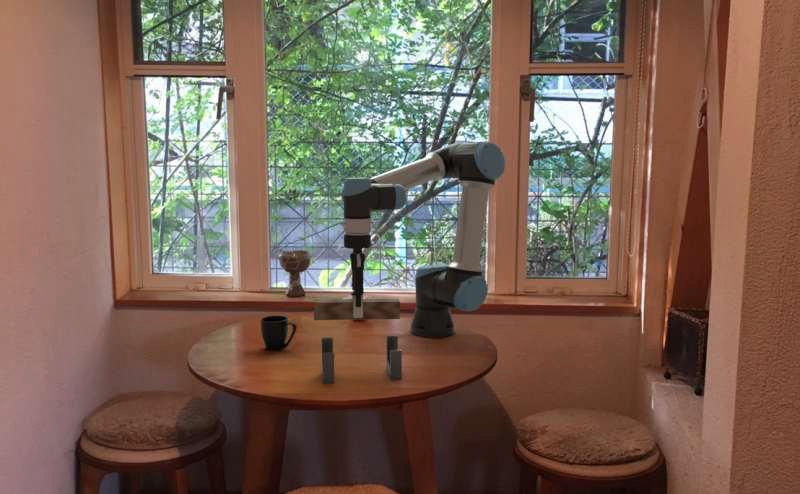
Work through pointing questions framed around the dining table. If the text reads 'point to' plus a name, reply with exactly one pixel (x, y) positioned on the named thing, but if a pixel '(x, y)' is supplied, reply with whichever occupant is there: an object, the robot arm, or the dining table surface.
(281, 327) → the mug
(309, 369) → the dining table surface
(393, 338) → the bracket
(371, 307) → the rail
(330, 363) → the bracket
